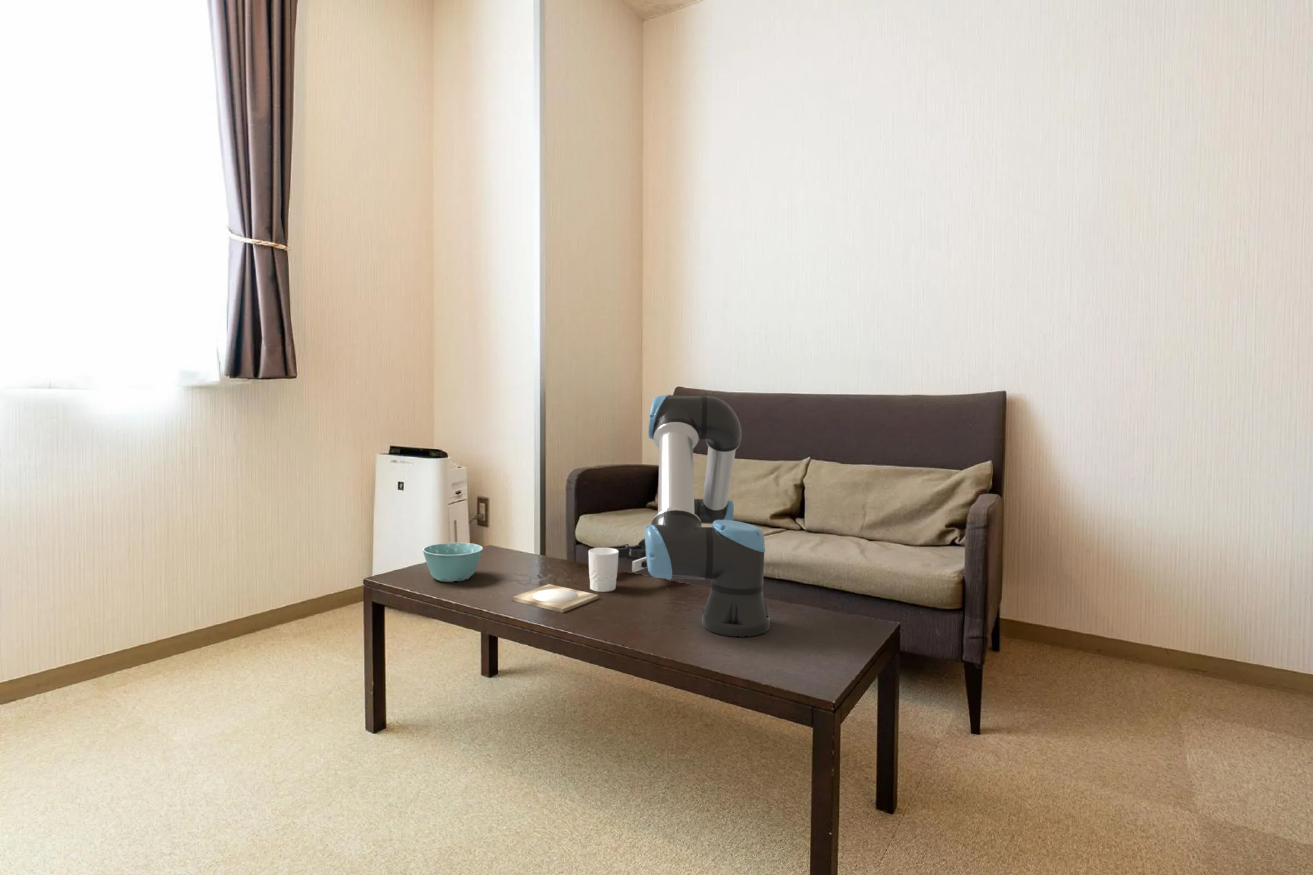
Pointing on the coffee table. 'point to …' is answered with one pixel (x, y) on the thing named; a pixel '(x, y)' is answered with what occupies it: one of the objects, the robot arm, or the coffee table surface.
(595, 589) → the white cup
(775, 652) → the coffee table surface
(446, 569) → the bowl
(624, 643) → the coffee table surface
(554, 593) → the coaster board
